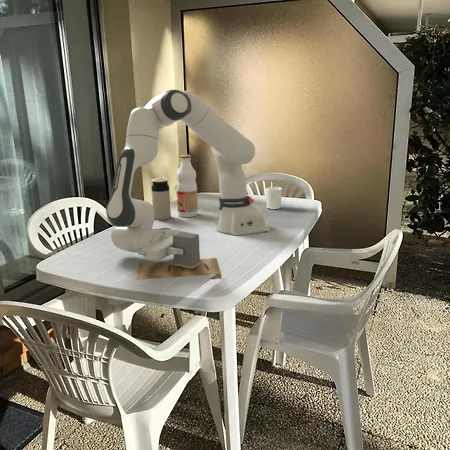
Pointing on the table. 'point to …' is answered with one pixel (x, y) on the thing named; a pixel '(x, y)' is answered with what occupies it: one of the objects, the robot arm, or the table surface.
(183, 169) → the fruit juice
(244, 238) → the table surface
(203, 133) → the robot arm
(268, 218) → the table surface
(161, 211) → the travel mug
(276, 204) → the white cup
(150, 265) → the oak board
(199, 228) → the table surface
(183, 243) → the block
